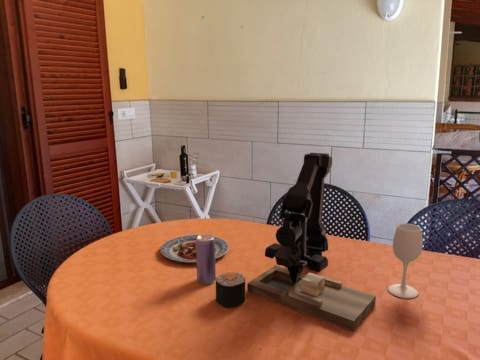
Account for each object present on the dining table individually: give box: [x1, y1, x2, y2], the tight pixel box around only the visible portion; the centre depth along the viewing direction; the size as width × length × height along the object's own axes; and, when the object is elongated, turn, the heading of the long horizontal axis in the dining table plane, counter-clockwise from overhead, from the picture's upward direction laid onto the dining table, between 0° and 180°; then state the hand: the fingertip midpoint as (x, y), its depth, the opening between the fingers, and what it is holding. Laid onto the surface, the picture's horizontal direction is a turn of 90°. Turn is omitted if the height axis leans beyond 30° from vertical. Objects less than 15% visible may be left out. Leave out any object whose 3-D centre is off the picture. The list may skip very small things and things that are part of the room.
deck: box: [246, 264, 377, 332], centre depth 123 cm, size 16×34×4 cm, turn 53°
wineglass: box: [387, 223, 424, 300], centre depth 125 cm, size 9×9×21 cm
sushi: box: [215, 271, 246, 309], centre depth 121 cm, size 8×8×8 cm
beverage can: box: [196, 233, 217, 285], centre depth 133 cm, size 6×6×15 cm
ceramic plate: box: [160, 234, 230, 263], centre depth 157 cm, size 26×26×3 cm
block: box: [301, 272, 325, 296], centre depth 122 cm, size 5×5×4 cm
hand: (294, 282), depth 126 cm, fingers closed
